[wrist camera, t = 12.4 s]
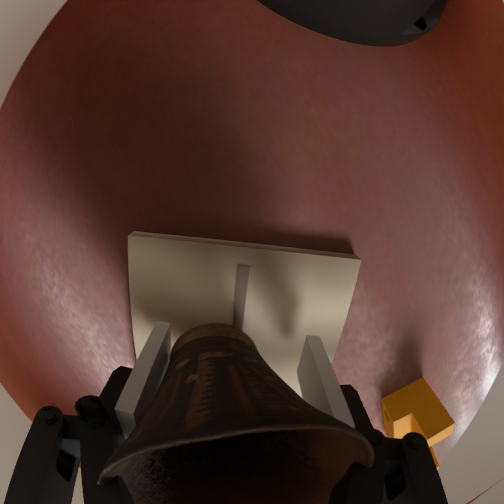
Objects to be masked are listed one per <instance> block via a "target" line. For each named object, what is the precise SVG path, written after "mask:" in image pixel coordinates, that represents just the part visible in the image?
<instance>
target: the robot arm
mask: <svg viewBox="0 0 504 504" xmlns="http://www.w3.org/2000/svg"><path fill="white" fill-rule="evenodd" d="M258 1H259V2H260V3H262V4H263V5H265V6H266V7H268V8H269V9H271V10H272V11H274V12H276V13H277V14H279V15H281V16H283V17H284V18H286V19H288V20H290V21H292V22H294V23H296V24H299V25H301V26H303V27H305V28H308V29H310V30H313V31H315V32H318V33H321V34H323V35H326V36H329V37H333V38H336V39H339V40H343V41H347V42H352V43H356V44H362V45H369V46H398V45H403V44H407V43H410V42H412V41H415V40H416V39H418V38H420V37H421V36H423V35H425V34H426V33H428V32H429V31H430V30H431V29H432V28H433V27H434V26H435V25H436V23H437V22H438V20H439V19H440V17H441V15H442V13H443V11H444V9H445V7H446V5H447V4H448V2H449V0H258ZM170 353H171V328H170V323H169V322H162V321H157V322H156V324H155V326H154V328H153V329H152V331H151V333H150V335H149V337H148V339H147V341H146V343H145V345H144V347H143V349H142V351H141V353H140V355H139V357H138V359H137V361H136V364H135V366H134V368H133V369H132V368H127V367H123V366H120V367H118V368H117V369H116V370H114V371H113V372H112V374H111V376H110V378H109V381H107V383H106V386H105V387H104V389H103V391H102V393H101V394H100V396H99V397H97V396H93V395H89V396H84V397H82V398H80V399H79V400H78V401H77V402H76V404H75V409H76V412H77V414H78V416H73V415H63V413H62V412H61V411H60V410H59V409H58V408H56V407H54V406H46V407H43V408H41V409H40V410H39V411H38V412H37V414H36V416H35V418H34V421H33V423H32V425H31V428H30V430H29V432H28V435H27V437H26V439H25V442H24V444H23V447H22V450H21V452H20V455H19V458H18V460H17V463H16V466H15V469H14V472H13V475H12V478H11V481H10V484H9V487H8V491H7V494H6V498H5V501H4V504H71V502H72V497H73V491H74V486H75V482H76V477H77V472H78V468H79V464H80V460H81V476H82V487H83V497H84V504H134V501H133V498H132V496H131V494H130V492H129V489H128V487H127V485H126V484H125V482H124V480H123V479H122V478H121V476H119V475H117V476H116V477H115V478H114V479H113V480H112V481H110V482H109V483H107V484H105V485H98V484H97V481H98V478H99V475H100V472H101V470H102V468H103V466H104V464H105V463H106V461H107V460H108V459H109V457H110V456H111V455H112V454H113V453H114V452H115V450H116V449H117V448H118V447H119V446H120V445H121V444H122V443H123V442H124V441H125V440H126V439H127V438H128V436H129V435H130V434H131V433H132V431H133V430H134V429H135V428H136V426H137V425H138V424H139V422H140V421H141V420H142V418H143V417H144V415H145V414H146V412H147V410H148V408H149V406H150V404H151V403H152V401H153V399H154V397H155V395H156V392H157V390H158V388H159V386H160V384H161V382H162V379H163V377H164V375H165V372H166V370H167V367H168V364H169V361H170ZM297 376H298V381H299V385H300V389H301V393H302V397H303V400H304V401H306V402H307V403H308V404H310V405H312V406H313V407H315V408H316V409H318V410H320V411H322V412H324V413H326V414H328V415H330V416H332V417H335V418H336V419H338V420H340V421H342V422H344V423H346V424H347V425H349V426H351V427H352V428H354V429H355V430H357V431H359V432H360V433H361V434H362V435H364V436H365V437H366V438H367V439H368V441H369V442H370V443H371V445H372V447H373V451H374V461H373V465H372V467H365V466H364V465H362V464H359V463H357V462H355V461H354V462H353V463H352V464H351V465H350V466H349V469H348V471H347V473H346V474H345V475H344V477H343V478H342V479H341V480H340V481H339V482H338V483H336V485H335V486H334V488H333V489H332V491H331V494H330V498H329V502H328V504H448V502H447V499H446V495H445V492H444V489H443V486H442V483H441V479H440V476H439V473H438V470H437V467H436V465H435V462H434V459H433V456H432V453H431V451H430V448H429V445H428V443H427V440H426V439H425V437H424V436H423V435H421V434H420V433H417V432H410V433H407V434H406V435H404V436H403V438H402V439H399V438H388V437H385V436H384V435H383V433H382V432H380V431H379V430H376V429H374V428H373V426H372V424H371V422H370V419H369V417H368V415H367V413H366V410H365V408H364V406H363V403H362V401H361V400H360V397H359V395H358V392H357V391H356V390H355V389H354V388H353V387H352V386H351V385H339V383H338V380H337V378H336V375H335V373H334V370H333V368H332V365H331V363H330V360H329V358H328V356H327V353H326V351H325V348H324V346H323V343H322V341H321V339H320V336H310V335H306V339H305V343H304V346H303V350H302V354H301V358H300V361H299V365H298V368H297Z"/></svg>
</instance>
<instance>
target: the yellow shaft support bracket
mask: <svg viewBox="0 0 504 504" xmlns="http://www.w3.org/2000/svg"><path fill="white" fill-rule="evenodd" d="M381 402H382V410H383V420H384V430H385V433H386V435H387V437H388V438H399V439H402V438H403V436H404V435H406V434H407V433H410V432H417V433H420V434H421V435H423V436H424V437H425V439H426V440H427V443H428V445H429V448H430V451H431V453H432V456H433V459H434V462H435V465H436V467H437V470H438V469H439V464H438V462H437V459H436V457H435V454H434V452H433V449H432V445H434V444H435V443H437V442H439V441H440V440H442V439H444V438H445V437H447V436H449V435H450V434H452V431H453V427H454V424H455V422H454V421H453V419H452V418H451V416H450V415H449V413H448V412H447V410H446V409H445V408H444V406H443V405H442V403H441V402H440V400H439V399H438V398H437V396H436V395H435V393H434V392H433V391H432V389H431V388H430V386H429V385H428V384H427V382H426V381H425V380H424V378H423V377H422V378H420V379H418V380H416V381H414V382H413V383H411V384H409V385H407V386H405V387H403V388H401V389H399V390H397V391H395V392H393V393H391V394H389V395H387V396H385V397H383V398H381Z"/></svg>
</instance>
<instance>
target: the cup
mask: <svg viewBox="0 0 504 504" xmlns="http://www.w3.org/2000/svg"><path fill="white" fill-rule="evenodd" d="M354 461H355V462H357V463H359V464H362V465H364V466H365V467H372V465H373V461H374V451H373V447H372V445H371V443H370V442H369V441H368V439H367V438H366V437H365V436H364V435H362V434H361V433H360V432H359V431H357V430H355V429H354V428H352V427H351V426H349V425H347V424H346V423H344V422H342V421H340V420H338V419H336V418H335V417H332V416H330V415H328V414H326V413H324V412H322V411H320V410H318V409H316V408H315V407H313V406H312V405H310V404H308V403H307V402H306V401H304V400H303V399H302V398H301V397H300V396H299V395H298V394H297V393H296V392H295V391H294V390H293V389H292V388H291V387H290V386H289V385H288V384H287V383H285V382H284V381H283V380H282V379H281V378H280V377H279V376H278V375H277V374H276V373H275V372H274V371H273V370H272V369H271V367H270V366H269V365H268V364H267V363H266V361H265V360H264V359H263V358H262V356H261V355H260V353H259V352H258V350H257V348H256V345H255V343H254V342H253V341H252V339H251V338H250V337H249V336H248V335H247V334H246V333H244V332H243V331H242V330H240V329H239V328H236V327H234V326H231V325H228V324H223V323H210V324H204V325H200V326H197V327H194V328H192V329H190V330H188V331H186V332H185V333H184V334H182V335H181V336H180V337H179V338H178V339H177V340H176V342H175V343H174V345H173V347H172V350H171V353H170V361H169V364H168V367H167V370H166V372H165V375H164V377H163V379H162V382H161V384H160V386H159V388H158V390H157V392H156V395H155V397H154V399H153V401H152V403H151V404H150V406H149V408H148V410H147V412H146V414H145V415H144V417H143V418H142V420H141V421H140V422H139V424H138V425H137V426H136V428H135V429H134V430H133V431H132V433H131V434H130V435H129V436H128V438H127V439H126V440H125V441H124V442H123V443H122V444H121V445H120V446H119V447H118V448H117V449H116V450H115V452H114V453H113V454H112V455H111V456H110V457H109V459H108V460H107V461H106V463H105V464H104V466H103V468H102V470H101V472H100V475H99V478H98V481H97V484H98V485H105V484H107V483H109V482H110V481H112V480H113V479H114V478H115V477H116V476H117V475H119V476H121V478H122V479H123V480H124V482H125V484H126V485H127V487H128V489H129V492H130V494H131V496H132V498H133V501H134V504H328V502H329V498H330V494H331V491H332V489H333V488H334V486H335V485H336V483H338V482H339V481H340V480H341V479H342V478H343V477H344V475H345V474H346V473H347V471H348V469H349V466H350V465H351V464H352V463H353V462H354Z"/></svg>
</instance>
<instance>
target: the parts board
mask: <svg viewBox="0 0 504 504" xmlns="http://www.w3.org/2000/svg"><path fill="white" fill-rule="evenodd" d="M360 264H361V259H360V258H359V257H358V256H356V255H355V254H347V253H338V252H329V251H320V250H311V249H302V248H293V247H284V246H275V245H266V244H256V243H247V242H238V241H228V240H218V239H209V238H199V237H189V236H179V235H169V234H159V233H149V232H138V231H134V232H132V233H131V234H129V235H128V269H129V290H130V304H131V316H132V326H133V335H134V344H135V352H136V359H138V357H139V355H140V353H141V351H142V349H143V347H144V345H145V343H146V341H147V339H148V337H149V335H150V333H151V331H152V329H153V328H154V326H155V324H156V322H157V321H162V322H169V323H170V328H171V350H172V347H173V345H174V343H175V342H176V340H177V339H178V338H179V337H180V336H181V335H182V334H184V333H185V332H186V331H188V330H190V329H192V328H194V327H197V326H200V325H204V324H210V323H223V324H228V325H231V326H234V327H236V328H239V329H240V330H242V331H243V332H244V333H246V334H247V335H248V336H249V337H250V338H251V339H252V341H253V342H254V343H255V345H256V348H257V350H258V352H259V353H260V355H261V356H262V358H263V359H264V360H265V361H266V363H267V364H268V365H269V366H270V367H271V369H272V370H273V371H274V372H275V373H276V374H277V375H278V376H279V377H280V378H281V379H282V380H283V381H284V382H285V383H287V384H288V385H289V386H290V387H291V388H292V389H293V390H294V391H295V392H296V393H297V394H298V395H299V396H300V397H301V398H302V399H303V397H302V393H301V389H300V385H299V381H298V376H297V368H298V365H299V361H300V358H301V354H302V350H303V346H304V343H305V339H306V335H310V336H320V339H321V341H322V343H323V346H324V348H325V351H326V353H327V356H328V358H329V360H330V363H331V364H332V361H333V358H334V355H335V352H336V349H337V346H338V343H339V340H340V337H341V333H342V330H343V327H344V324H345V320H346V317H347V313H348V310H349V306H350V303H351V299H352V295H353V292H354V288H355V284H356V280H357V276H358V272H359V268H360Z"/></svg>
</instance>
